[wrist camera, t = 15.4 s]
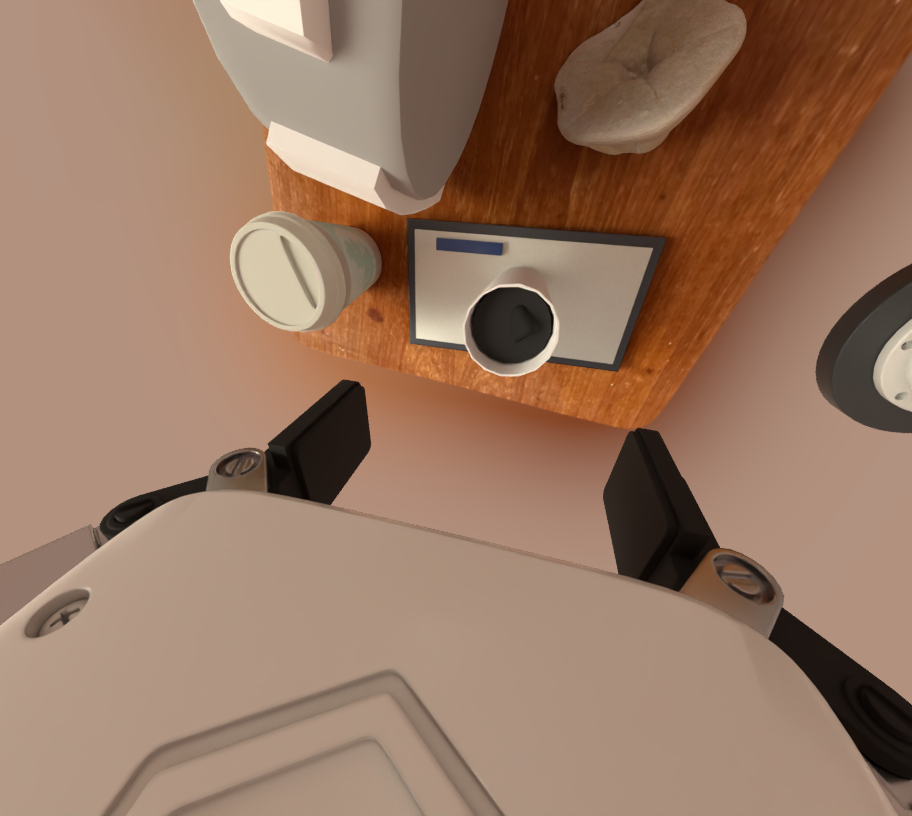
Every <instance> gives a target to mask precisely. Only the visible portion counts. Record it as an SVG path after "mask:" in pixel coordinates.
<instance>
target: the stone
mask: <svg viewBox="0 0 912 816" xmlns="http://www.w3.org/2000/svg"><path fill="white" fill-rule="evenodd" d="M745 36H746V19H745V15H744V13H743V10H742V9H740V8H739V7H738V6H737V5H734V4H731V3H729V2H727V1H725V0H642V1H641V2H640V3H639V4H638V5H637V6H636V7H635V8H634V9H633V10H632V11H630V12H629V13H628V14H626V15H625V16H623V17H622V18H620V19H619V20H618V21H617V22H616V23H614V24H612V25H611V26H609V27H608V28H606V29H605V30H603V31H602V32H601V33H599V34H597V35H595V36H593V37H591V38H589V39H587V40H586V41H584V42H583V43H582V44H580V45H579V46H578V47H577V48H576V49H575V50H574V51H573V52H572V53H571V55H570V56H569V57H568V59H567V60H566V62H565V63H564V65H563V66H562V68H561V69H560V71H559V72H558V74H557V77H556V80H555V84H554V89H555V93H556V97H557V102H558V122H557V123H558V128H559V130H560V132H561V134H562V135H563V136H564V138H565V139H566V140H568V141H569V142H572V143H574V144H577V145H582V146H588V147H590V148H592V149H594V150H596V151H599V152H602V153H605V154H609V155H618V154H621V153H630V152H631V153H637V154H643V153H646V152H649V151H651V150H653V149H655V148H656V147H657V146H659V145H660V144H661V143H662V142H663V141H664V140H665V139H666V138H667V136H668V134H669V132H670V131H671V130H672V129H673V128H675V127H676V126H677V125H678V124H679V123H680V122H681V121H682V120H683V119H684V118H685V117H686V116H687V115H688V114H689V113H690V112H691V111H692V110H693V109H694V108H695V107H696V106H697V104H698V103H699V102H700V101H701V100H702V99H703V97H704V96H705V95H706V94H707V92H708V91H709V90H710V88H711V87H712V86H713V85H714V83H715V82H716V81H717V79H718V78H719V77H720V75H721V74H722V73H723V71H724V70H725V69H726V67H727V66H728V65H729V63H730V62H731V61H732V60H733V58H734V57H735V55H736V54H737V52H738V51H739V49H740V48H741V46H742V43H743V41H744V38H745Z"/></svg>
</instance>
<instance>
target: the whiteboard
mask: <svg viewBox="0 0 912 816" xmlns="http://www.w3.org/2000/svg"><path fill="white" fill-rule="evenodd" d="M665 242H666V238H665V237H659V236H646V235H632V234H619V233H605V232H592V231H579V230H565V229H552V228H538V227H525V226H511V225H498V224H485V223H471V222H458V221H444V220H431V219H417V218H407V246H408V286H409V327H410V344H417V345H425V346H432V347H439V348H447V349H454V350H462V351H468V350H467V348H466V346H465V344H464V336H463V323H464V320H465V317H466V314H467V311H468V308H469V307H470V306H471V305H472V303H473V302H474V301H475V300H476V299H477V298H478V296H479V295H480V294H481V293H482V292H483V291H484V290H485V289H486V288H487V287H488V285H489V284H490V283H491V282H492V281H493V280H494V279H495V278H496V277H497V276H498V275H499V273H501V272H503V271H505V270H507V269H509V268H512V267H526V268H528V269H531V270H534V271H536V272H537V273H538V274H539V275H540V276H541V277H542V278H543V279H544V281H545V284H546V286H547V289H548V292H549V295H550V298H551V301H552V303H553V306H554V309H555V312H556V315H557V317H558V320H559V336H558V343H557V345H556V347H555V349H554V351H553V353H552V354H551V356H550V358H549V359H548V360H547V361H546V362H550V363H557V364H565V365H572V366H580V367H587V368H594V369H602V370H609V371H616V372H618V370H619V368H620V365H621V362H622V359H623V357H624V354H625V351H626V348H627V346H628V343H629V340H630V337H631V335H632V332H633V329H634V326H635V324H636V321H637V318H638V316H639V313H640V310H641V307H642V305H643V302H644V299H645V296H646V294H647V291H648V288H649V285H650V283H651V280H652V277H653V274H654V272H655V269H656V266H657V263H658V261H659V258H660V255H661V252H662V250H663V247H664V244H665Z"/></svg>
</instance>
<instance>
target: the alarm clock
mask: <svg viewBox="0 0 912 816" xmlns="http://www.w3.org/2000/svg"><path fill="white" fill-rule="evenodd" d="M193 3H194V5H195V7H196V9H197V12H198V14H199V16H200V19H201V21H202V23H203V25H204V28H205V30H206V32H207V35H208V37H209V39H210V41H211V44H212V46H213V48H214V50H215V53H216V55H217V57H218V59H219V61H220V62H221V64H222V65H223V67H224V69H225V70H226V72H227V73H228V75H229V76H230V78H231V80H232V81H233V83H234V84H235V86H236V88H237V89H238V91H239V93H240V94H241V96H242V97H243V99H244V100H245V102H246V104H247V105H248V107H249V109H250V110H251V112H252V113H253V114H254V115H255V116H256V117H257V118H258V119H259V120H260V121H261V123H262V124H263V125H264V126H265V127H266V128H267V129H268V130H269V133H268V138H267V143H266V144H267V145H268V146H269V147H270V148H271V149H272V150H273V151H274V152H275V153H276V154H277V155H278V156H279V157H280V158H281V159H282V160H283V161H284V162H285V163H286V164H287V165H288V166H289V167H290V168H291V169H292V170H294V171H296V172H299V173H301V174H303V175H306V176H308V177H311V178H313V179H315V180H318V181H320V182H322V183H325V184H327V185H330V186H332V187H334V188H337V189H339V190H341V191H344V192H346V193H349V194H351V195H353V196H356V197H358V198H361V199H363V200H365V201H368V202H370V203H372V204H375V205H377V206H380V207H382V208H384V209H387V210H389V211H392V212H394V213H397V214H399V215H407V214H414V213H416V212H419V211H422V210H425V209H427V208H429V207H431V206H432V205H434V204H436V203H437V202H439V201H440V199H441V196H442V192H443V189H444V186H445V183H446V182H447V180H448V178H449V176H450V175H451V173H452V171H453V169H454V168H455V166H456V164H457V162H458V161H459V159H460V156H461V154H462V152H463V149H464V147H465V145H466V143H467V140H468V138H469V136H470V133H471V130H472V127H473V125H474V122H475V119H476V116H477V113H478V111H479V108H480V105H481V102H482V98H483V95H484V92H485V89H486V85H487V82H488V79H489V75H490V72H491V69H492V65H493V61H494V57H495V53H496V50H497V46H498V42H499V38H500V34H501V31H502V27H503V22H504V18H505V13H506V9H507V4H508V0H193Z"/></svg>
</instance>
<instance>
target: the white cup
mask: <svg viewBox="0 0 912 816" xmlns="http://www.w3.org/2000/svg"><path fill="white" fill-rule="evenodd" d="M463 336H464V344H465V346H466V348H467V350H468V352H469V354H470V356H471V358H472V359H473V360H474V361H475V362H476V363H477V364H479V365H480V366H481V367H482V368H483V369H484V370H486V371H489V372H491V373H494V374H497V375H499V376H521V375H524V374H527V373H529V372H532V371H535V370H536V369H538V368H539V367H540V366H541V365H542V364H543V363H545V362H546V361H547V360H548V359H549V358H550V356H551V354H552V353H553V351H554V349H555V347H556V345H557V343H558V336H559V320H558V317H557V315H556V312H555V309H554V306H553V303H552V301H551V298H550V295H549V292H548V289H547V286H546V284H545V281H544V279H543V278H542V277H541V276H540V275H539V274H538V273H537V272H536V271H534V270H531V269H528V268H526V267H512V268H509V269H507V270H505V271H503V272H501V273H499V275H498V276H497V277H496V278H495V279H494V280H493V281H492V282H491V283H490V284H489V285H488V287H487V288H486V289H485V290H484V291H483V292H482V293H481V294H480V295H479V296H478V298H477V299H476V300H475V301H474V302H473V303H472V305H471V306H470V307H469V308H468V311H467V314H466V317H465V320H464V323H463Z"/></svg>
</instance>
